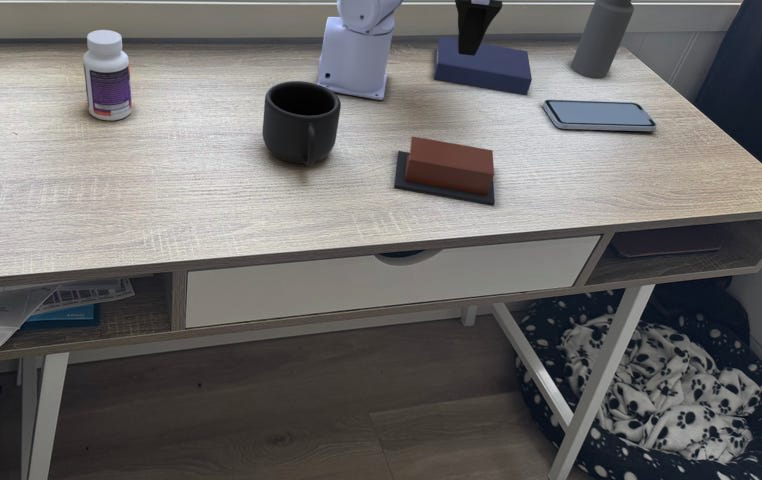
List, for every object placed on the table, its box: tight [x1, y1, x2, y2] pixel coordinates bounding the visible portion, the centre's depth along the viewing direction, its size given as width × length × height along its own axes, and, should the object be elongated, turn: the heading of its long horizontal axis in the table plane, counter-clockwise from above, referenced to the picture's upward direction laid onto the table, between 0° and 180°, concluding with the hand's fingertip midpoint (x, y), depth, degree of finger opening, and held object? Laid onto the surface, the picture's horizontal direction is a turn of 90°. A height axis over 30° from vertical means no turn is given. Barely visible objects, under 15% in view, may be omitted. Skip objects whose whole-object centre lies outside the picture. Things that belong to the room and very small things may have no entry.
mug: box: [262, 80, 342, 167], centre depth 88 cm, size 12×9×7 cm
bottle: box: [571, 0, 635, 79], centre depth 113 cm, size 6×6×15 cm
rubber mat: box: [394, 150, 496, 206], centre depth 90 cm, size 12×8×1 cm, turn 81°
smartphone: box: [542, 99, 658, 132], centre depth 106 cm, size 7×1×15 cm
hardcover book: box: [433, 35, 533, 96], centre depth 112 cm, size 14×10×2 cm
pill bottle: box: [82, 29, 133, 121], centre depth 90 cm, size 5×5×10 cm
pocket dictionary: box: [405, 136, 495, 195], centre depth 89 cm, size 10×6×3 cm, turn 81°
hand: (466, 41), depth 95 cm, fingers open, 7 cm apart
